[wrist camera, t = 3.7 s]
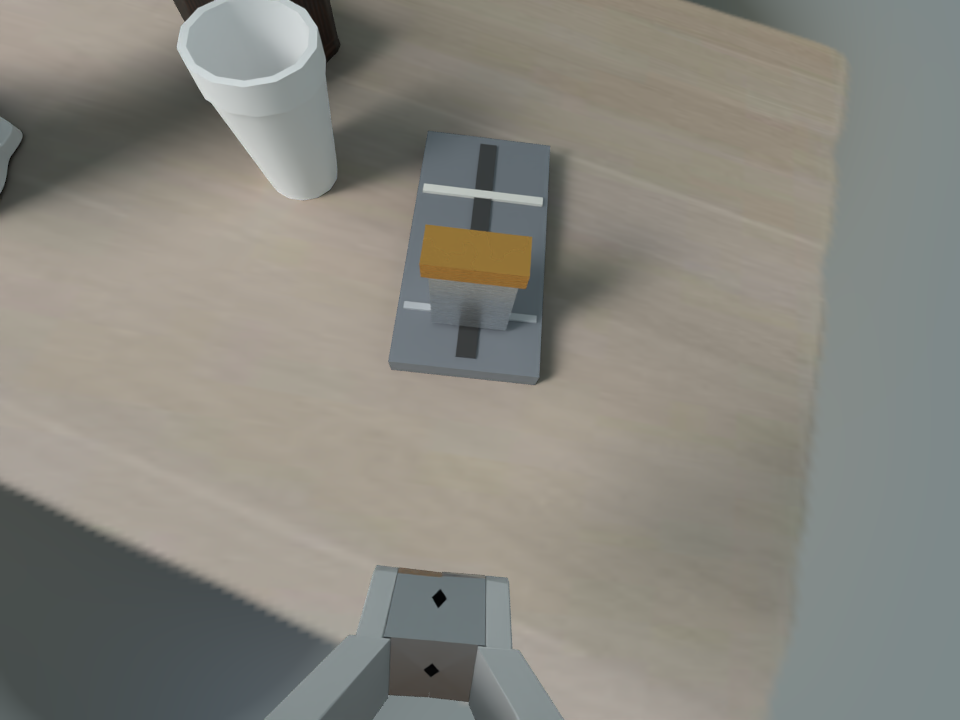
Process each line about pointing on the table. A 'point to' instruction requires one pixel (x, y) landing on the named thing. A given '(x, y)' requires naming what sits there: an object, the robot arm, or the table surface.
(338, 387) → the table surface
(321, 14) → the manual coffee grinder
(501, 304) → the plate
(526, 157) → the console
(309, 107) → the foam cup
